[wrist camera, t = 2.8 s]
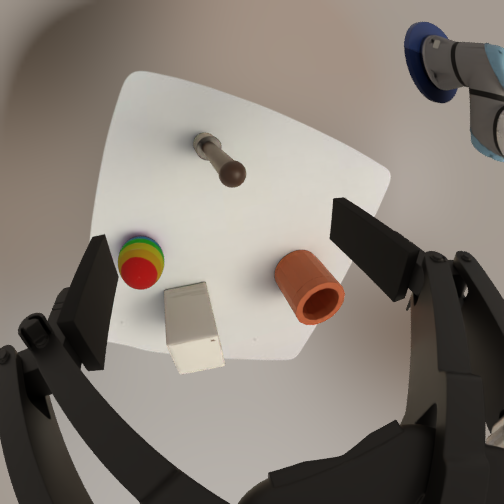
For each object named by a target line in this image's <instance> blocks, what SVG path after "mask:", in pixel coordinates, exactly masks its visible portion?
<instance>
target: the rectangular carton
mask: <svg viewBox="0 0 504 504" xmlns="http://www.w3.org/2000/svg"><path fill="white" fill-rule="evenodd" d="M164 303H165V327H166V343H167V347H168V350H169V352H170V354H171V356H172V359H173V361H174V363H175V365H176V367H177V369H178V372H179V374H187V373H192V372H196V371H201V370H207V369H212V368H217V367H221V366H225V361H224V357H223V352H222V348H221V344H220V339H219V335H218V331H217V327H216V323H215V319H214V315H213V311H212V306H211V302H210V298H209V294H208V290H207V285H206V282H204V283H199V284H194V285H189V286H184V287H179V288H174V289H169V290H164Z"/></svg>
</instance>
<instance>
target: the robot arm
mask: <svg viewBox="0 0 504 504" xmlns="http://www.w3.org/2000/svg"><path fill="white" fill-rule="evenodd" d="M420 61H421V65H422V68H423V71H424V73H425V75H426V77H427V79H428V80H429V82H430V83H431V84H432V85H433V86H434V87H436V88H437V89H441V90H451V89H455V88H459V87H463V86H465V87H469V93H470V132H471V142H472V144H473V146H474V147H475V148H476V149H477V150H478V151H479V152H480V153H482V154H484V155H485V156H487V157H491V158H492V159H494V160H497V161H500V162H504V48H502V47H500V46H496V45H491V44H489V43H485V44H483V43H470V42H455V41H452V40H449V39H446V38H443V37H441V36H437V35H428V36H426V37H424V38H423V39H422V41H421V44H420ZM330 240H331V241H332V242H333V243H335V244H336V245H337V246H338V247H339V248H340V249H341V250H342V251H343V252H344V253H345V254H346V255H347V256H348V257H349V258H350V259H351V260H352V261H353V262H354V263H355V264H356V265H358V267H359V268H360V269H362V270H363V271H364V272H365V273H366V274H367V275H368V276H369V277H370V278H371V279H372V280H373V281H374V282H375V283H376V284H377V285H378V286H379V287H380V289H382V291H383V292H384V293H385V294H386V295H387V296H388V297H389V298H390V299H391V300H392V301H393V302H396V301H398V300H401V299H404V298H405V296H406V293H407V290H408V288H409V289H410V290H411V291H412V295H411V297H410V300H409V303H408V305H407V308H406V310H408V309H409V307H411V357H410V375H409V389H408V398H407V406H406V412H405V415H404V418H403V420H402V422H401V424H400V425H399V423H398V422H397V420H394V421H393V422H391V423H389V424H387V425H385V426H383V427H382V428H380V429H378V430H376V431H374V432H372V433H370V434H369V435H368V436H366V437H365V438H364V439H363V440H362V441H361V442H359V443H358V444H357V445H356V446H354V447H353V448H352V449H351V450H349V451H348V452H347V453H345V454H344V455H342V456H339V457H333V458H327V459H320V460H313V461H305V462H302V463H299V464H296V465H293V466H290V467H286V468H283V469H280V470H276V471H273V472H269V473H268V479H266V480H264V481H262V482H260V483H259V484H257V485H256V486H254V487H253V488H252V489H251V490H249V491H248V492H247V493H246V494H245V495H244V497H242V499H241V500H240V501H239V503H238V504H504V299H503V298H502V297H501V295H500V293H499V292H498V290H497V289H496V287H495V286H494V284H493V283H492V281H491V280H490V278H489V277H488V276H487V274H486V273H485V271H484V270H483V268H482V267H481V266H480V264H479V263H478V262H477V260H476V259H475V258H474V257H473V256H472V255H471V254H470V253H467V252H465V251H464V252H463V251H458V252H456V255H455V258H454V260H447V258H446V257H445V256H443V255H442V254H440V253H438V252H435V251H429V252H426V253H425V252H424V251H422V250H421V249H420V248H419V247H417V246H416V245H415V244H413V243H412V242H409V240H408V239H406V238H404V237H403V236H402V235H401V234H399V233H398V232H396V231H393V230H392V229H391V228H389V227H388V226H386V225H384V224H383V223H382V222H380V221H379V220H378V219H376V218H375V217H373V216H372V215H370V214H369V213H367V212H366V211H364V210H363V209H361V208H360V207H358V206H356V205H355V204H353V203H352V202H350V201H349V200H347V199H346V198H344V197H343V198H333V209H332V220H331V231H330ZM118 277H119V276H118V274H117V271H116V268H115V265H114V262H113V259H112V256H111V253H110V249H109V246H108V243H107V240H106V236H105V234H104V235H99V236H95V237H92V239H91V241H90V243H89V245H88V247H87V249H86V251H85V253H84V256H83V258H82V260H81V262H80V264H79V267H78V269H77V271H76V274H75V276H74V278H73V280H72V283H71V285H70V287H68V288H64V289H63V290H62V291H61V292H60V293H59V295H58V296H57V298H56V301H55V303H54V304H55V305H54V306H53V308H52V311H51V313H50V316H49V318H48V321H47V320H46V318H45V316H44V315H43V314H42V313H34V314H31V315H29V316H28V317H26V318H25V319H24V320H23V321H22V323H21V324H20V326H19V329H18V334H19V336H20V337H21V339H22V340H23V342H24V343H25V345H26V346H27V347H28V349H25V350H23V351H20V352H18V353H17V351H16V350H15V348H14V347H13V346H11V345H6V346H3V347H2V348H0V439H1V444H2V448H3V453H4V457H5V462H6V465H7V469H8V473H9V476H10V479H11V483H12V486H13V489H14V492H15V495H16V497H17V500H18V502H19V504H94V503H93V502H92V500H91V498H90V496H89V495H88V493H87V491H86V489H85V487H84V485H83V483H82V481H81V479H80V477H79V475H78V473H77V471H76V468H75V467H74V464H73V462H72V460H71V457H70V455H69V452H68V450H67V448H66V445H65V442H64V440H63V437H62V434H61V432H60V429H59V426H58V423H57V420H56V417H55V413H54V410H53V407H52V403H51V400H50V396H49V395H50V394H53V395H54V397H55V399H56V400H57V402H58V404H59V405H60V407H61V408H62V410H63V411H64V413H65V414H66V416H67V418H68V419H69V421H70V422H71V423H72V425H73V426H74V428H75V429H76V430H77V432H78V433H79V435H80V436H81V437H82V439H83V440H84V441H85V443H86V444H87V445H88V446H89V447H90V449H91V450H92V451H93V453H94V454H95V455H96V456H97V457H98V459H99V460H100V461H101V462H102V463H103V464H104V466H105V467H106V468H107V469H108V470H109V471H110V472H111V473H112V474H113V475H114V477H115V478H116V479H117V480H118V481H119V482H120V483H121V484H122V485H123V486H124V487H125V488H126V489H127V490H128V491H129V492H130V493H131V494H132V495H133V496H134V497H135V498H136V499H137V500H138V501H139V502H140V504H230V503H228V502H227V501H225V500H223V499H221V498H220V497H218V496H217V495H215V494H214V493H212V492H211V491H209V490H208V489H206V488H205V487H203V486H202V485H200V484H199V483H197V482H196V481H195V480H193V479H192V478H190V477H189V476H188V475H186V474H185V473H184V472H182V471H181V470H180V469H178V468H177V467H176V466H174V465H173V464H172V463H171V462H169V461H168V460H167V459H166V458H164V457H163V456H162V455H161V454H160V453H158V452H157V451H156V450H155V449H154V448H153V447H152V446H150V445H149V444H148V443H147V442H146V441H145V440H144V439H143V438H142V437H141V436H140V435H138V434H137V433H136V432H135V431H134V430H133V429H132V428H131V427H130V426H129V425H128V424H127V423H126V422H125V421H124V420H123V419H122V418H121V417H120V416H119V415H118V413H116V411H115V410H114V409H113V408H112V407H111V406H110V405H109V404H108V403H107V401H106V400H105V399H104V398H103V397H102V396H101V395H100V394H99V392H98V391H97V390H96V389H95V388H94V386H93V385H92V384H91V383H90V381H89V380H88V379H87V378H86V376H85V375H84V374H83V373H82V371H81V364H82V363H83V365H84V366H85V368H86V369H87V370H88V371H95V370H104V362H105V354H106V346H107V338H108V332H109V325H110V319H111V313H112V307H113V302H114V297H115V292H116V287H117V282H118ZM466 287H468V294H467V296H466V297H465V296H464V292H465V290H466ZM485 422H486V424H487V427H488V429H489V431H490V433H491V435H490V436H489V437H488V438H487V440H486V443H485Z"/></svg>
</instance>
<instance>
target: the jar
mask: <svg viewBox="0 0 504 504" xmlns="http://www.w3.org/2000/svg"><path fill="white" fill-rule="evenodd" d="M275 281H276V283H277V284H278V286H279V288H280V290H281V291H282V293H283V295H284V296H285V298H286V300H287V301H288V303H289V305H290V307H291V308H292V310H293V312H294V313H295V315H296V317H297V318H298V320H299V322H301V323H303V324H305V325H315V324H318V323H321V322H324V321H326V320H327V319H329V318H331V317H332V316H333V315H334V314H335V313H336V312H337V311H338V310H339V308H340V307H341V305H342V303H343V301H344V295H345V293H344V290H343V287H342V286H341V285H340V283H339V282H338V281H337V280H336V279H335V278H334V277H333V275H332V274H331V273H330V272H329V271H328V270H327V269H326V267H325V266H324V265H323V264H322V263H321V262H320V261H319V260H318V258H317V257H316V256H314V255H313V254H312V253H311V252H309V251H306V250H297V251H294V252H291V253H289V254H288V255H286V256H285V257H284V258H282V260H281V261H280V262H279V263H278V265H277V267H276V269H275Z"/></svg>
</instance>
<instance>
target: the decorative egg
mask: <svg viewBox="0 0 504 504" xmlns="http://www.w3.org/2000/svg"><path fill="white" fill-rule="evenodd" d="M163 268H164V255H163V252H162V250H161V248H160V246H159V245H158V244H157V243H156V242H155V241H154V240H153V239H151V238H148V237H144V236H138V237H134V238H132V239H130V240H129V241H127V242H126V243H125V244H124V246H123V247H122V249H121V251H120V253H119V257H118V269H119V272H120V275H121V277H122V279H123V280H124V282H125V283H126V284H127V285H129V286H130V287H132V288H134V289H139V290H142V289H147V288H149V287H151V286H152V285H154V284H155V283H156V282H157V281H158V279H159V278H160V276H161V274H162V272H163Z"/></svg>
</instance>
